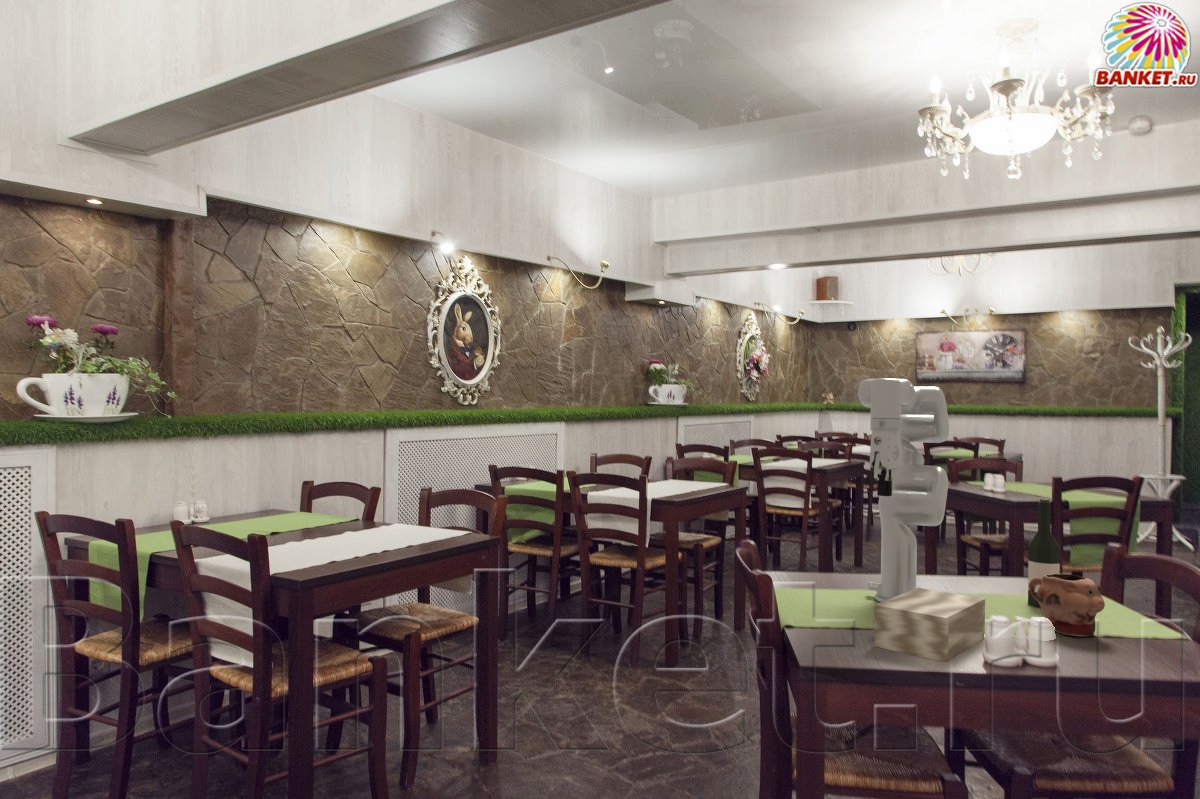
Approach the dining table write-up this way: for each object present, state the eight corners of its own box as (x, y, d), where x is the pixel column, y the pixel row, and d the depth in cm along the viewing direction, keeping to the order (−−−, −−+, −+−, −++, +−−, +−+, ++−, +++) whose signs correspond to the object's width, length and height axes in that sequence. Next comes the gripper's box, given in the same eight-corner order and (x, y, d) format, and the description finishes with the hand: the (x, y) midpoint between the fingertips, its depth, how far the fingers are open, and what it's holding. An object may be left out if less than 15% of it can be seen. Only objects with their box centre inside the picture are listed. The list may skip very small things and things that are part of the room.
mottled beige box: (874, 646, 184) (874, 604, 184) (917, 625, 204) (918, 587, 204) (945, 662, 174) (946, 618, 174) (984, 638, 193) (985, 598, 193)
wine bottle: (1052, 602, 231) (1053, 498, 231) (1065, 609, 223) (1067, 501, 223) (1021, 601, 232) (1022, 497, 232) (1034, 608, 224) (1035, 500, 224)
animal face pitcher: (1011, 623, 207) (1012, 569, 207) (1041, 618, 212) (1041, 566, 213) (1089, 644, 189) (1090, 585, 189) (1119, 638, 195) (1120, 581, 195)
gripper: (887, 426, 202) (886, 499, 202) (911, 425, 213) (910, 495, 213) (859, 425, 207) (858, 496, 207) (883, 425, 218) (882, 492, 218)
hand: (884, 495), depth 210 cm, fingers closed
